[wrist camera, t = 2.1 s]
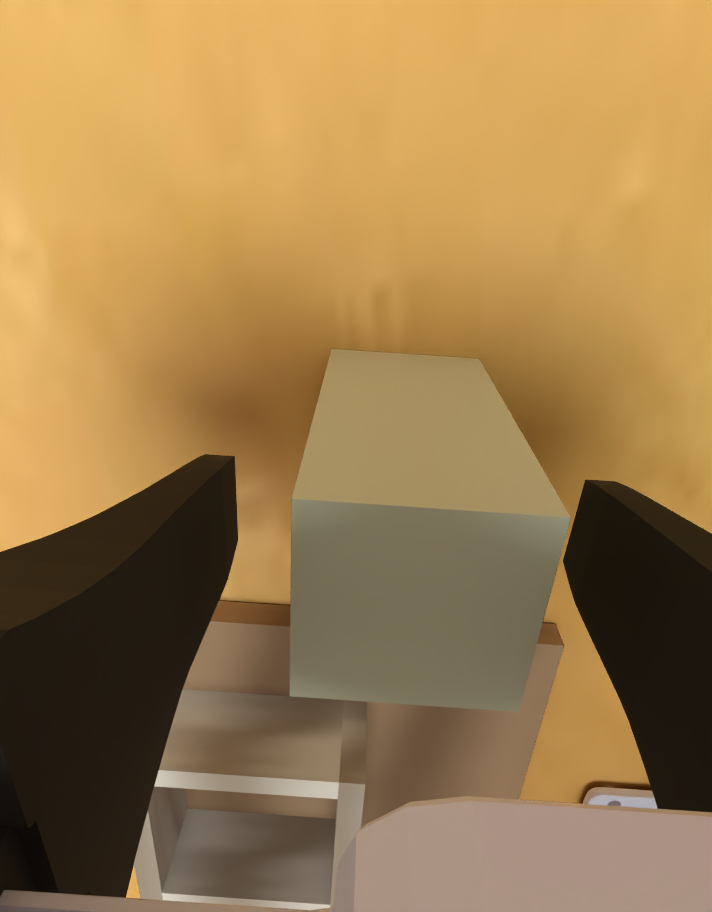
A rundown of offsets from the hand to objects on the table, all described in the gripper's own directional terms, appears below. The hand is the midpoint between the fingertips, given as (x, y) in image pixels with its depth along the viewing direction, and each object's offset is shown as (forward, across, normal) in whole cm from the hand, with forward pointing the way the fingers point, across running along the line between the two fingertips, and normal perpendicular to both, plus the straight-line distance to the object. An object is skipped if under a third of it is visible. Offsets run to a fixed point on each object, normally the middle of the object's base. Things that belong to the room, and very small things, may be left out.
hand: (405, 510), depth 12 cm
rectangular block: (+5, 0, 0) cm, 5 cm away
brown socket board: (+5, +4, +14) cm, 15 cm away
